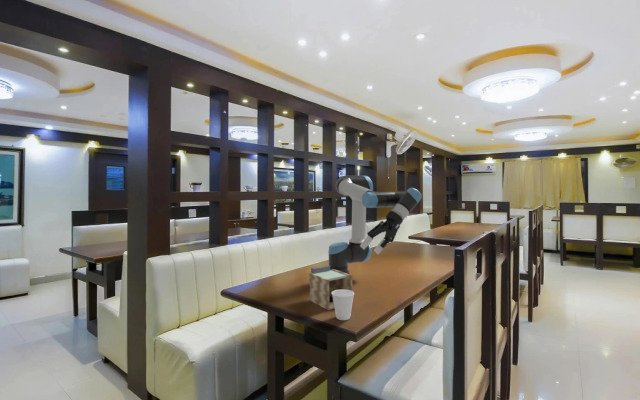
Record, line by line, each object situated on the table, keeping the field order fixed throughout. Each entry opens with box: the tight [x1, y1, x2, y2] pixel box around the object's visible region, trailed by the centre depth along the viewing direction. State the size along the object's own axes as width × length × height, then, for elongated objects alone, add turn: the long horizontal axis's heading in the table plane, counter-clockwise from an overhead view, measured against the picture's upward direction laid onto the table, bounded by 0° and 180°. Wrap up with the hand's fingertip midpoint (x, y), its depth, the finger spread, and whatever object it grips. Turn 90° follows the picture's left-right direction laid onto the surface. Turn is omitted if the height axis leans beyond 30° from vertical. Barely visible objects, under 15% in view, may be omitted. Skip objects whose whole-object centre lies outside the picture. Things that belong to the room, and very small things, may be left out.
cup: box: [331, 289, 355, 321], centre depth 137 cm, size 10×10×11 cm
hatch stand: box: [309, 269, 354, 311], centre depth 156 cm, size 16×15×14 cm
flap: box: [308, 264, 347, 281], centre depth 158 cm, size 15×12×3 cm
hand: (368, 250), depth 143 cm, fingers open, 13 cm apart
